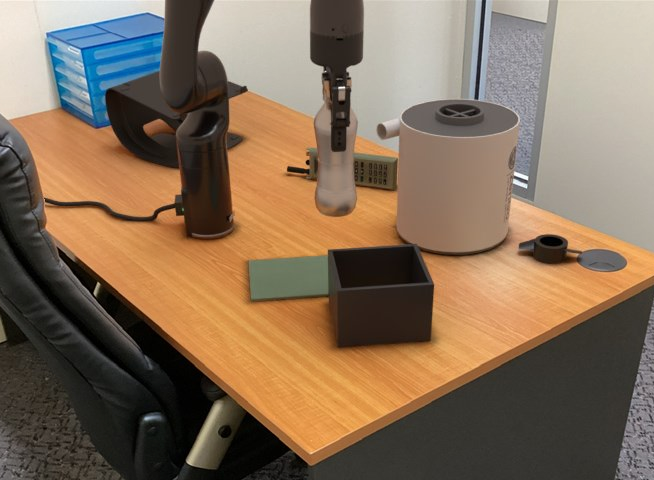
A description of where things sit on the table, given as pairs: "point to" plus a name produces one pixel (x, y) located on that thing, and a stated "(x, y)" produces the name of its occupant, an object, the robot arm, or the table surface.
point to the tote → (380, 295)
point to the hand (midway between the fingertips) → (335, 142)
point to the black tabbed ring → (548, 248)
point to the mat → (288, 278)
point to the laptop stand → (150, 118)
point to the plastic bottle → (334, 167)
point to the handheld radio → (359, 169)
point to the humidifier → (454, 174)
